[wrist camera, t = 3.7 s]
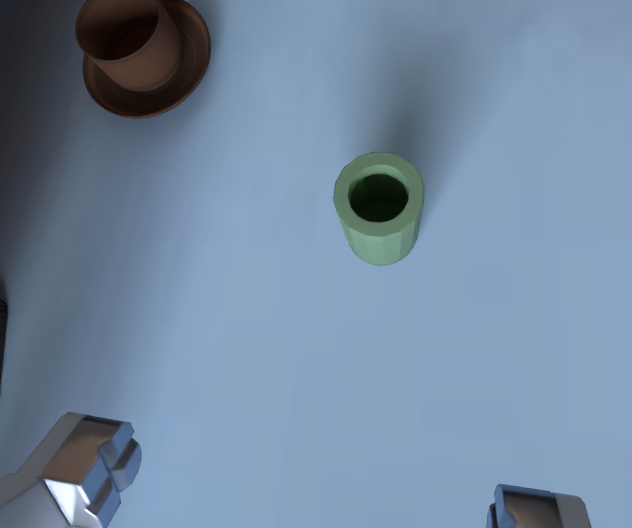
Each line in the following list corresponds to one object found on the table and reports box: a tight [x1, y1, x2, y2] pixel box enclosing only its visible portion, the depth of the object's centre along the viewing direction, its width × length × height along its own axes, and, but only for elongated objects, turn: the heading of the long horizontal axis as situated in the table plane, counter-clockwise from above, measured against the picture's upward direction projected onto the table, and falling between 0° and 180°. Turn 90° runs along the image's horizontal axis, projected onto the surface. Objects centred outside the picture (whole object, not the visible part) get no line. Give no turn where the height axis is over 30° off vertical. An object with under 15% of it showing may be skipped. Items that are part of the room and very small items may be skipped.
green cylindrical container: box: [333, 152, 425, 265], centre depth 32 cm, size 5×5×8 cm
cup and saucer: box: [75, 0, 211, 118], centre depth 40 cm, size 12×12×6 cm
